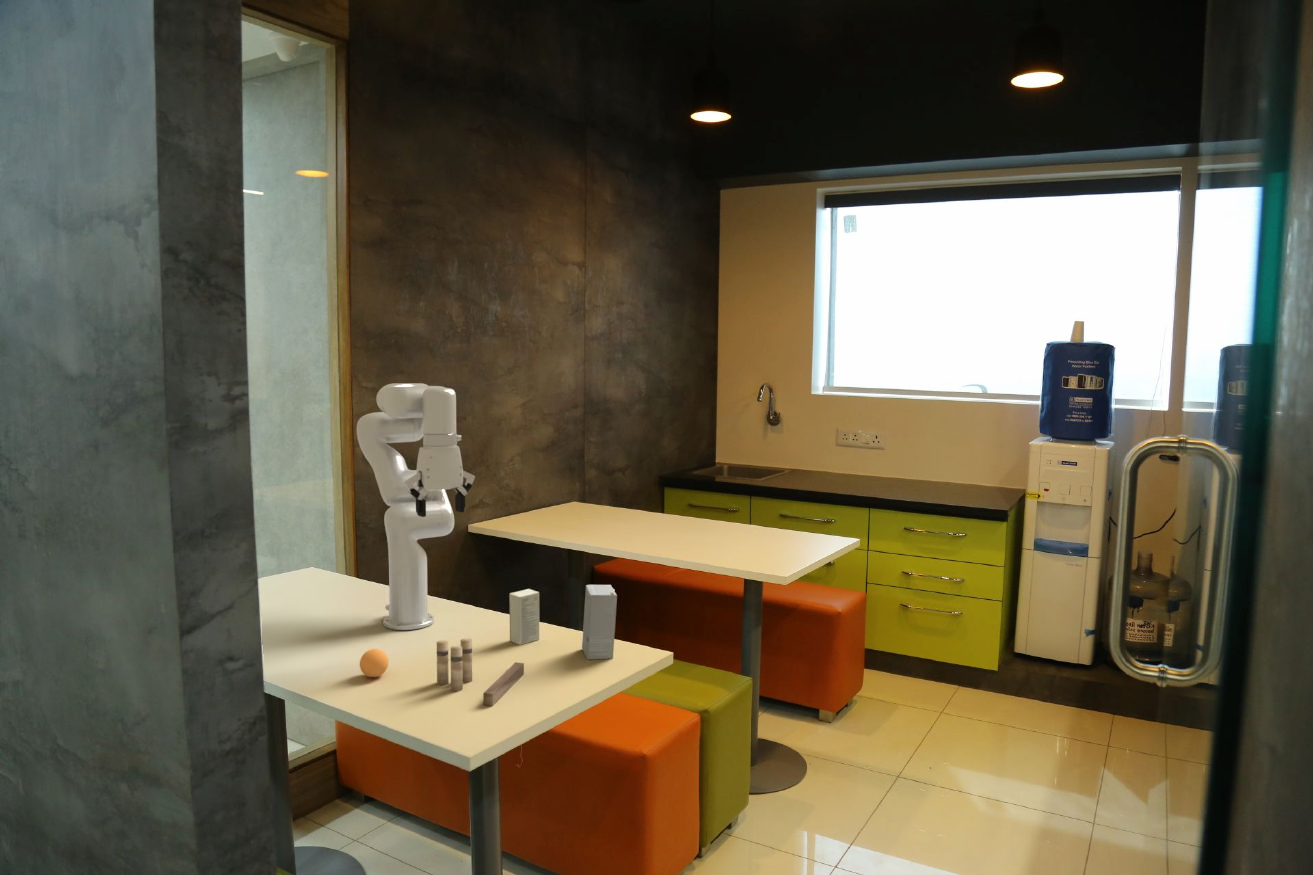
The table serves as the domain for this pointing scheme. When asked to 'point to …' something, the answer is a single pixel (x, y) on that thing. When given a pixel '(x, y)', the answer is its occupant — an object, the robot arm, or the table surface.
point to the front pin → (442, 662)
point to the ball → (374, 663)
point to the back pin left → (467, 659)
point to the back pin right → (456, 668)
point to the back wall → (503, 684)
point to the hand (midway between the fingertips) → (440, 513)
